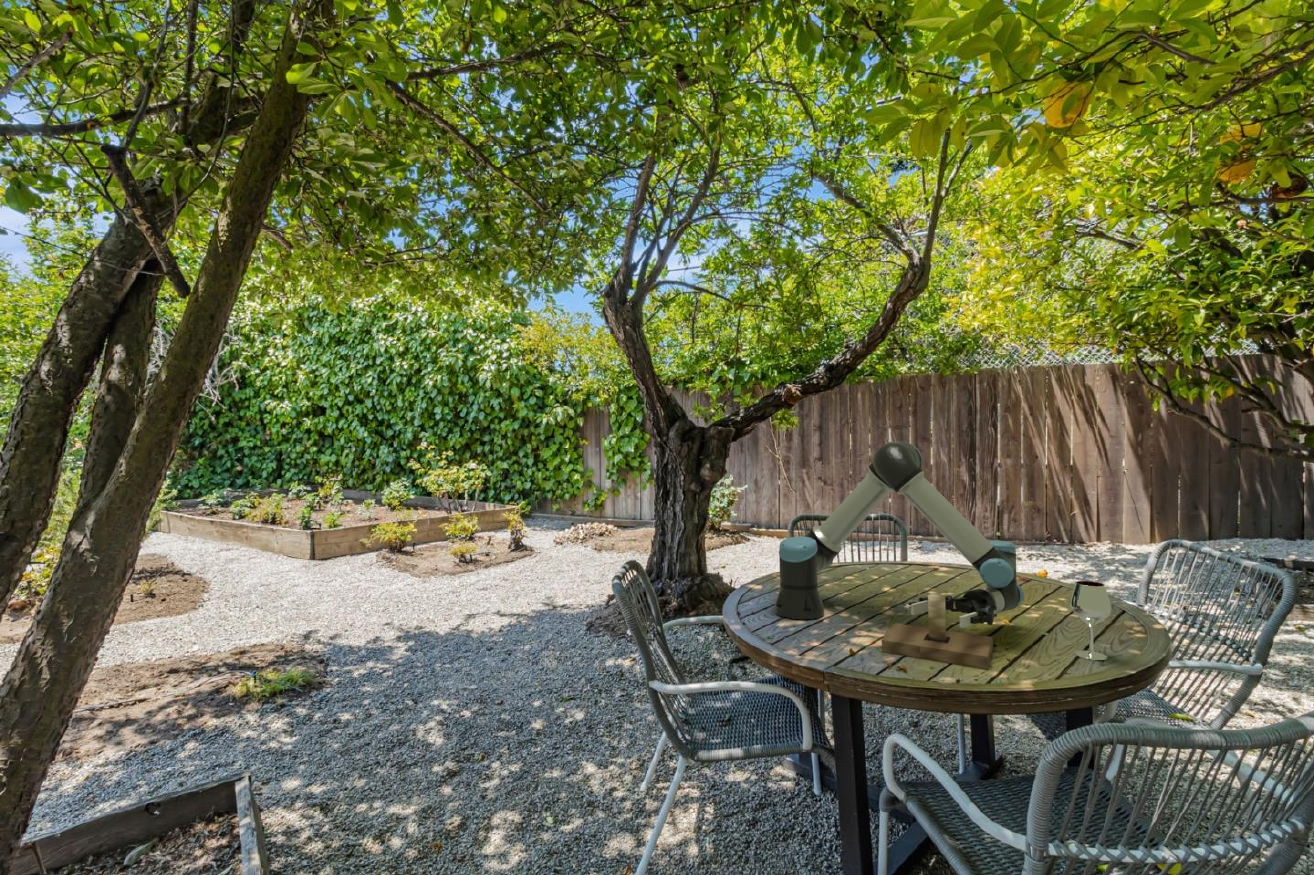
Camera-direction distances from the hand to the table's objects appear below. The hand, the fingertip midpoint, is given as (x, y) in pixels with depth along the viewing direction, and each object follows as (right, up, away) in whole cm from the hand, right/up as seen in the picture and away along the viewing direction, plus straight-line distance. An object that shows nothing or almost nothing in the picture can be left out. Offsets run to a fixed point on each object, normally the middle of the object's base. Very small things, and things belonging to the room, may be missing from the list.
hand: (935, 615), depth 152 cm
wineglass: (+36, -9, -6) cm, 37 cm away
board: (+1, -9, +1) cm, 9 cm away
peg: (+1, -9, +1) cm, 9 cm away
